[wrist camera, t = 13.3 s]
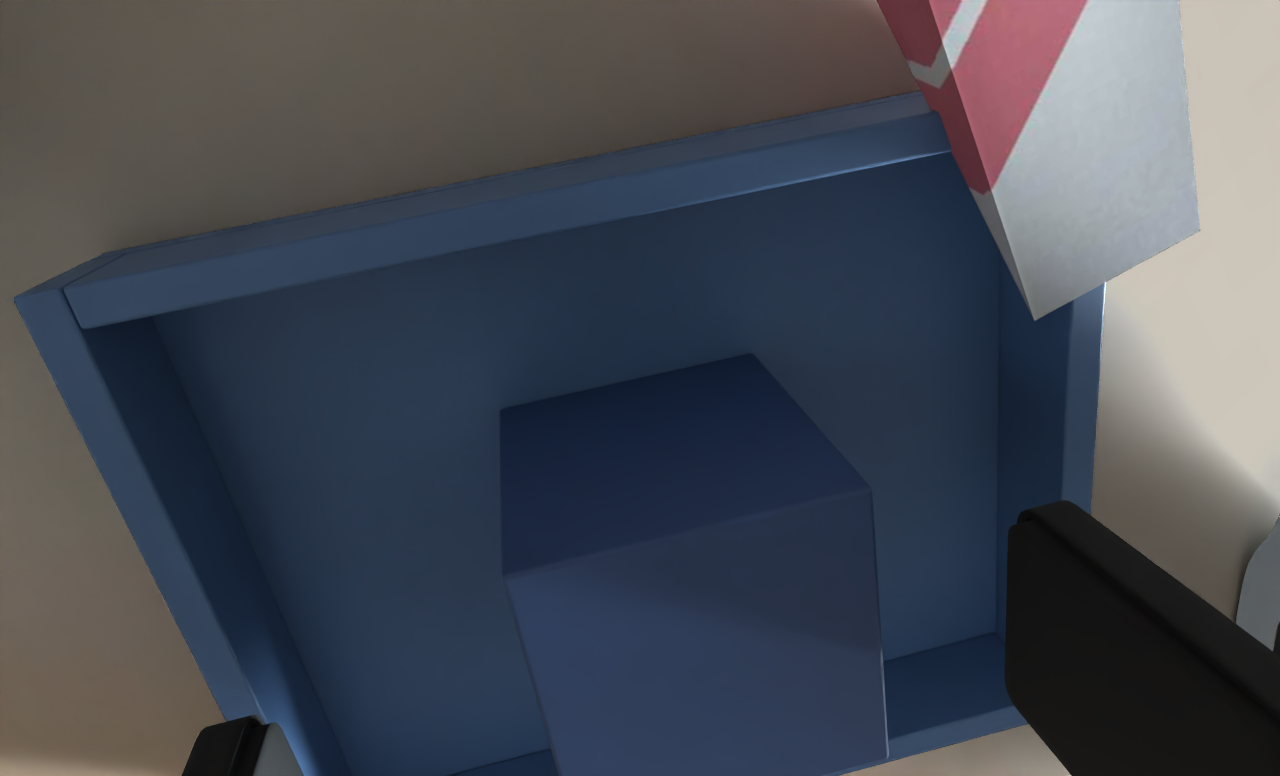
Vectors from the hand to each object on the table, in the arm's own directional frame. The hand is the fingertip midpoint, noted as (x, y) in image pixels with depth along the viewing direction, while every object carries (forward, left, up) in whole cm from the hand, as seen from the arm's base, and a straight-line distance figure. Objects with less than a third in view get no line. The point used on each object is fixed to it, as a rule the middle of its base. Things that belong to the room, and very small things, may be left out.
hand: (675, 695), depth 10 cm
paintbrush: (+5, +13, -5) cm, 15 cm away
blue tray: (+1, 0, -6) cm, 6 cm away
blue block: (+1, 0, -5) cm, 5 cm away
